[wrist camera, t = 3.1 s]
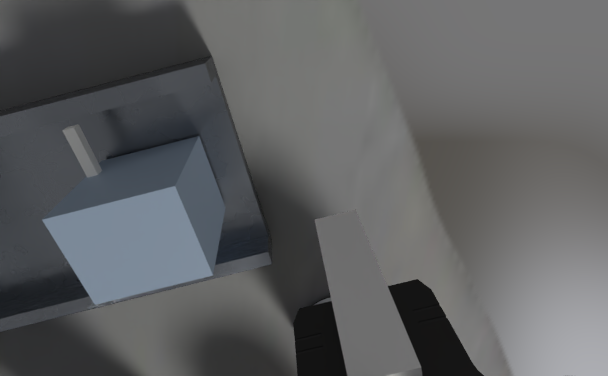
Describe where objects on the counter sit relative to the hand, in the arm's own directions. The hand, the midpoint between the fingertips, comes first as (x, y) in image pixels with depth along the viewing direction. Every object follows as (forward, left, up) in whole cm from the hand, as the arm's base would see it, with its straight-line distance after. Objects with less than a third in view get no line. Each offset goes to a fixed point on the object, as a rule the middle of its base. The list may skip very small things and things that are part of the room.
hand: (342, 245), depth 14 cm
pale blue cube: (-9, +1, -11) cm, 14 cm away
